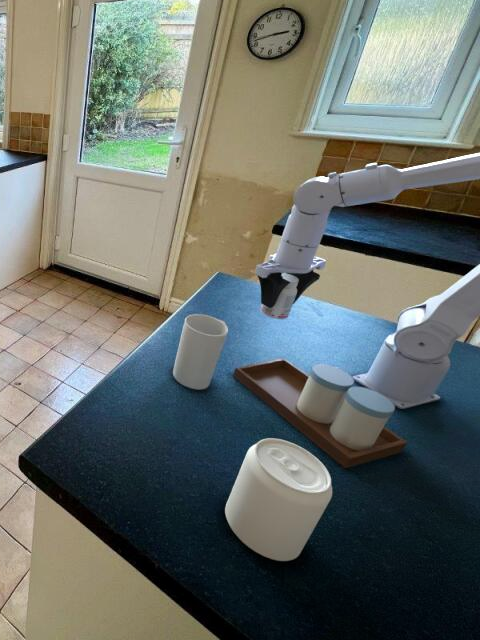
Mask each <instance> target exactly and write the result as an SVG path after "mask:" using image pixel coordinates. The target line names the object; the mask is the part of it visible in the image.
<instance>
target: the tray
mask: <svg viewBox="0 0 480 640" xmlns="http://www.w3.org/2000/svg"><path fill="white" fill-rule="evenodd" d="M233 371H234V372H233V374H232V377H233V379H235V380H237V381H238V382H239V383H240V384H242V385H243V386H244V387H245V388H246V389H248V390H249V391H250V392H252V394H253V395H255V396H256V397H257V398H259V399H260V400H261V401H262V402H263V403H265V404H266V405H267V406H269V407H270V408H271V409H272V410H273V411H274V412H276V413H277V414H278V415H279V416H280V417H282V418H283V419H284V420H285V421H287V422H288V423H289V424H290V425H291V426H293V427H294V428H295V429H296V430H298V431H299V432H300V433H302V435H304V436H305V437H306V438H308V439H309V440H310V441H311V442H312V443H313V444H315V445H316V446H317V447H319V448H320V449H321V450H322V451H323V452H325V453H326V454H327V456H330V457H331V458H332V459H333V460H334V461H335V462H336V463H338V464H339V465H341V466H342V467H343V468H344V469H349V468H352V467H356V466H358V465H362V464H366V463H369V462H372V461H376V460H379V459H383V458H387V457H390V456H393V455H396V454H399V453H403V451H404V449H405V448H406V446H407V445H408V441H407V440H405V439H403V438H402V437H401V436H399V435H398V434H396V433H394V431H392V430H391V429H389V428H388V427H386V426H384V427H383V429H382V431H381V432H380V434H379V436H378V438H377V439H376V441H375V443H374V445H373V446H372V448H371V449H367V450H364V451H357V450H353V449H351V448H348V447H346V446H344V445H343V444H341V443H340V442H338V441H337V440H336V439H335V438H334V437H333V436H332V435H331V433H330V427H331V425H332V423H333V422H332V423H320V422H316V421H314V420H311V419H309V418H308V417H306V416H305V415H303V414H302V413H301V412H300V411H299V410H298V408H297V402H298V400H299V398H300V396H301V393H302V391H303V389H304V387H305V384H306V382H307V380H308V378H309V375H310V374H308V373H307V372H305V371H304V370H303V369H301V368H300V367H298V366H296V365H295V364H294V363H292V362H290V361H289V360H287V359H286V358H285V357H281V358H276V359H271V360H265V361H261V362H256V363H251V364H247V365H242V366H241V365H240V366H237V367H235V369H234V370H233Z"/></svg>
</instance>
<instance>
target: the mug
mask: <svg viewBox="0 0 480 640" xmlns="http://www.w3.org/2000/svg"><path fill="white" fill-rule="evenodd" d="M228 333H229V328H228V326H227V322H226V321H224V320H221V319H219V318H216V317H214V316H210V315H207V314H202V313H194V314H189V315H187V316H186V317H185V318H184V323H183V326H182V331H181V334H180V340H179V343H178V348H177V352H176V357H175V361H174V365H173V370H172V377H173V378H174V379H175V380H176V382H177V383H179V384H181V385H182V386H184V387H186V388H189V389H192V390H205V389H207V388H208V387H209V386H210V384H211V383H212V379H213V376H214V373H215V371H216V368H217V365H218V362H219V360H220V357H221V353H222V352H223V351H222V350H223V348H224V345H225V342H226V339H227V337H228Z"/></svg>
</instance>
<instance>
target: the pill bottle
mask: <svg viewBox="0 0 480 640" xmlns="http://www.w3.org/2000/svg"><path fill="white" fill-rule="evenodd" d="M281 276H283V279H285V280H287V281H289V282H290V283H289V284H288V285H287V286H286V287H285V288H284V289H283V290H282V292H281V293H280V295H279V297H278V299H277V301H276V303H275V305H274V306H273V307H272V308H268V307H267V306H265V305H263V304H261V305H260V308H259V309H260V312H261V313H262V314H263V315H264V316H266V317H268V318H271V319H274V320H286V319H287V318H289V315H290V313H291V311H292V308H293V305H294V304H293V302H294V300H295V297H296V294H297V288H296V287H297V285H298V281H299V279H298V278H297V277H295V276H293V275H290V274H286V273H282V275H281Z"/></svg>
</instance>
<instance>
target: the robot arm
mask: <svg viewBox="0 0 480 640" xmlns="http://www.w3.org/2000/svg"><path fill="white" fill-rule="evenodd" d="M364 167H365V168H362V169H357V170H352V171H347V172H342V173H337V172H336V171H334V172H329V173H328V174H327V177H325V176H315V177H312V178H309V179H308V180H306V181H305V182H303V183H302V184H301V185H300V186H299V187H298V188H297V189H296V190H295V192H294V193H293V199H292V201H293V206H292V207H291V212H290V214H289V215H288V218H287V220H286V223H285V226H284V229H283V232H282V235H281V238H280V242H279V243H278V247H277V250H276V253H274V254H270V255H269V260H267V261H265V262H263V263H259V264H256V267H255V269H254V274H255V275H256V276H257V279H258V281H259V286H260V304H261V305H262V304H263V305H265V306H267V307H268V308H272V307H273V306H274V305H275V303H276V301H277V299H278V297H279V295H280V293H281V292H282V290H283V289H284V288H285V287H286V286H287V285H288V284H289V283H290V282H289V281H287V280H285V279H283V276H281V275H282V273H286V274H290V275H293V276H295V277H297V278H298V279H299V281H298V285H297V287H296V288H297V294H296V297H295V300H294V302H293V305H294V304H295V303H297V301H298V300H299V299H300V297H301V296H302V294H304V292H305V291H306V290H308V288H309V287H310V286H311V285H313V284H314V283H315V282H318V280H320V278H321V274H319V273H318V272H315V271H314V270H315V269H316V270H318V271H321V270H324V268H325V266H326V263H327V260H326V259H324V258H321V257H319V256H316V255H317V252H318V249H319V246H320V244H321V241H322V238H323V236H324V233H325V232H326V231H325V230H326V228H327V225H328V218H329V215H330V213H331V211H332V208H333V207H340V208H345V207H351V206H352V207H353V206H356V205H358V206H359V205H365V204H370V203H377V202H385V201H390V200H391V201H392V200H394V199H395V198H396V197H398V195H399V194H401V193H402V192H403V191H404V190H411V189H416V188H417V189H418V188H424V187H432V186H441V185H447V184H455V183H461V182H469V181H476V180H480V152H476V153H472V154H467V155H463V156H458V157H454V158H449V159H444V160H440V161H435V162H430V163H426V164H421V165H415V166H412V167H408V168H407V167H406V168H403V169H402V168H401V169H400V168H398V167H397V168H396V167H394V166H392V165H390V164H382V165H378V163H377V162H372V163H368V164H366V165H365V166H364ZM478 318H480V263H479V264H478V265H476V266H475V267H474V268H473V269H471V270H470V271H469V272H468V273H467V274H465V275H463V276H462V277H461V278H459V280H457V281H456V282H455V283H453V284H452V285H451V286H450V287H449V288H447V289H445V290H444V291H443V292H442V293H439V295H434V296H432V297H429V298H427V300H425V301H424V302H422V303H420V304H417V305H413V306H409V307H407V308H405V309H403V310H402V311H400V313H399V314H398V316H397V328H396V331H395V333H392V334H390V335H386V337H385V338H384V339H385V340H384V341H383V343H382V345H381V347H380V349H379V351H378V352H377V355H376V356H375V359H374V361H373V362H372V364H371V366H370V368H369V369H368V372H365V373H361V374H356V375H353V376H351V377H352V378H353V380H354V382H357V384H360V385H361V386H362V387H363V388H367V389H370V390H373V391H375V392H378V393H380V394H382V395H383V396H385V397H386V398H388V399H389V400H390V401H391V402H392V403H393V404H394V406H395V408H398V409H399V410H400V409H401V410H404V409H408V408H412V407H416V406H420V405H423V404H428V403H431V402H435V401H439V400H440V399H441V397H440V395H438V394H437V393H436V391H437V390H438V388H439V386H440V385H441V383H442V381H443V380H444V378H445V377H446V375H447V373H448V371H450V368H451V360H450V357H449V355H450V354H451V353H452V350H453V346H454V344H455V342H456V341H458V340H459V339H461V338H462V337H463V336H464V335H465V334H466V332H467V331H468V329H469V328H470V327H471V326H472V324H473V322H474V321H475V320H477V319H478Z"/></svg>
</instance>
